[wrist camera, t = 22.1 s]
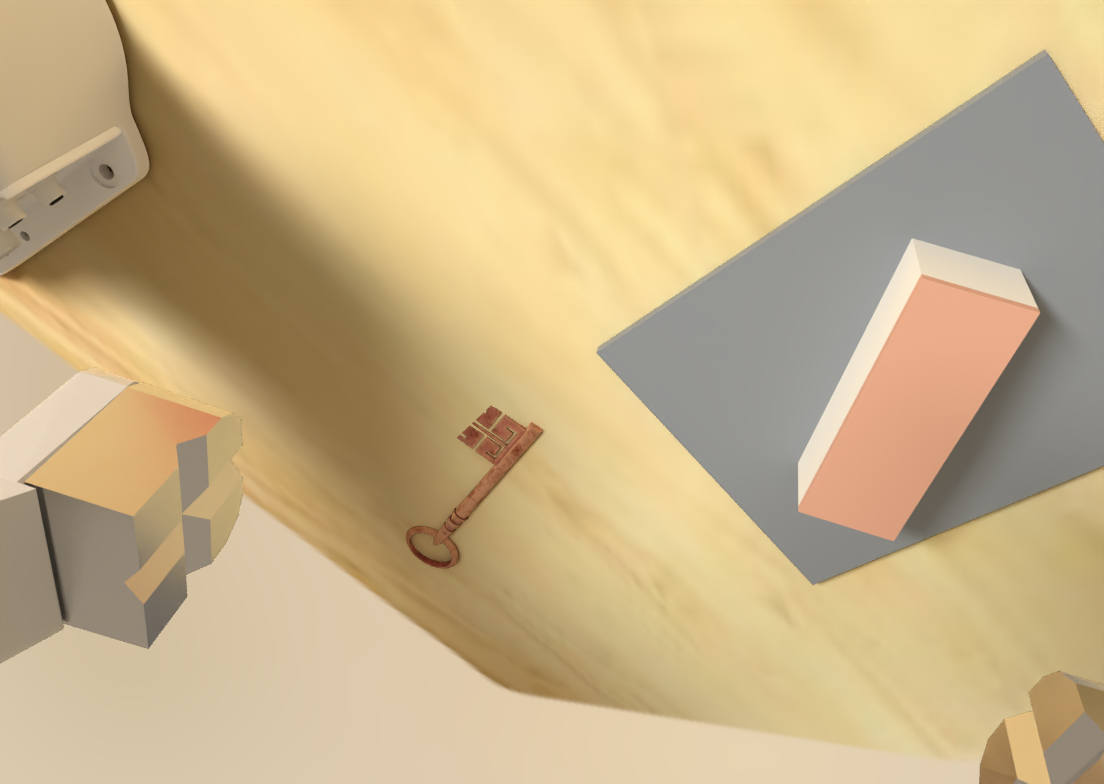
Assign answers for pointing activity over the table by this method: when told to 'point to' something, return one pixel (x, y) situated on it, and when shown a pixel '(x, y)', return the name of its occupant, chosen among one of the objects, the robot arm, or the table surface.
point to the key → (488, 482)
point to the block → (912, 386)
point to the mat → (852, 297)
